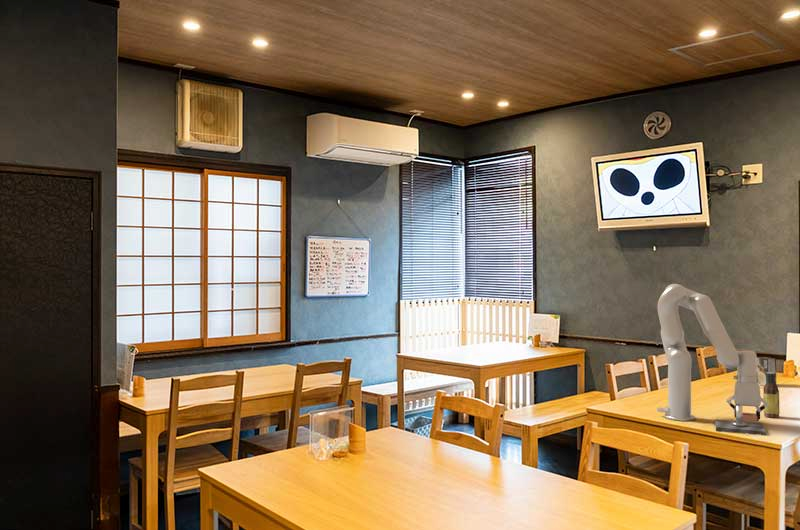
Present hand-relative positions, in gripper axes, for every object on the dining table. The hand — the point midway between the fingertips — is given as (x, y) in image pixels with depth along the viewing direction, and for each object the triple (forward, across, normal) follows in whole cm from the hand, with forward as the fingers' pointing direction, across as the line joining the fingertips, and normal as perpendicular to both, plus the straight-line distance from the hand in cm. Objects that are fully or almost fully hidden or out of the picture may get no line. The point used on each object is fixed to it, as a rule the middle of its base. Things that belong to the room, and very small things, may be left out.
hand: (747, 419), depth 285 cm
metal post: (0, -4, -15) cm, 16 cm away
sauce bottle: (+1, +11, +17) cm, 20 cm away
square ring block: (+1, 0, 0) cm, 1 cm away
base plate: (+1, -4, -15) cm, 16 cm away
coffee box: (+1, +18, +112) cm, 113 cm away
